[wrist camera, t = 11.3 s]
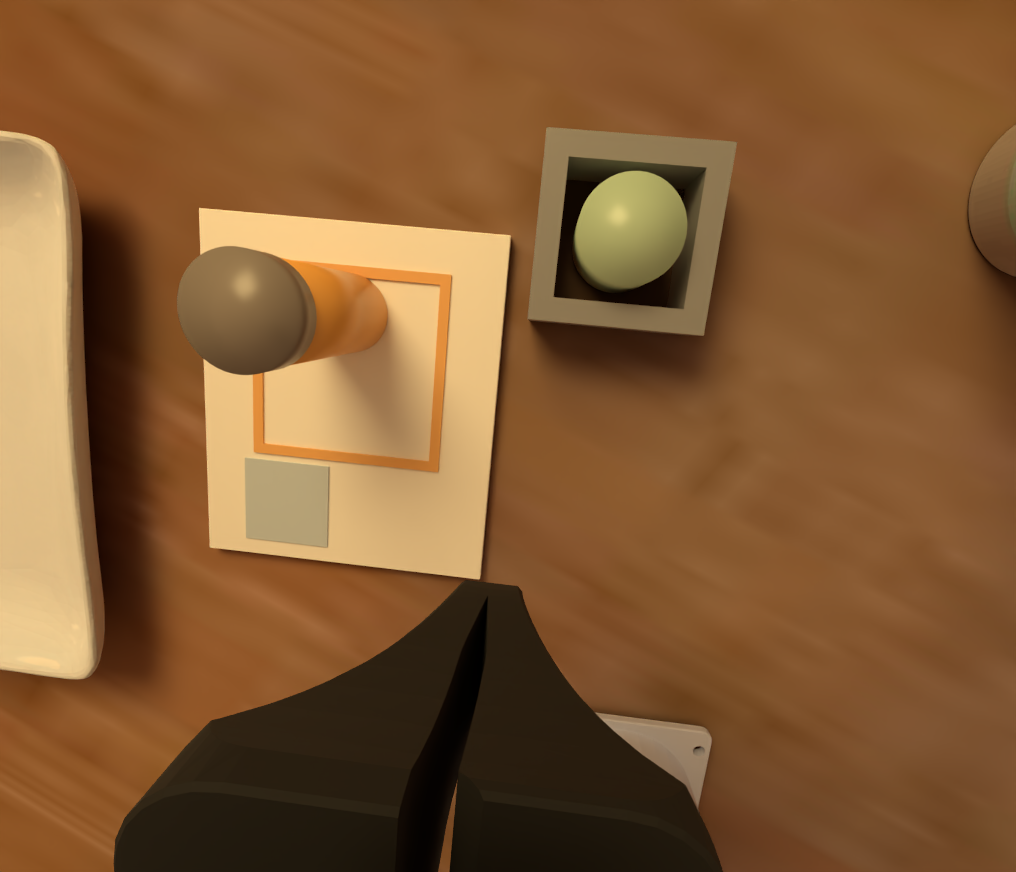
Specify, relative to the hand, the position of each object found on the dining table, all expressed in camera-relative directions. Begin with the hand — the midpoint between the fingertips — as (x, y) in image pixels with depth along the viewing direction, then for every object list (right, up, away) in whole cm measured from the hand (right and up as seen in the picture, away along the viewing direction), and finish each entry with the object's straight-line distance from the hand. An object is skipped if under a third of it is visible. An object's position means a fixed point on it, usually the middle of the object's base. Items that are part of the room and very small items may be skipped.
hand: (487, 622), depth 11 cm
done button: (+5, +12, +8) cm, 15 cm away
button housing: (+5, +11, +7) cm, 14 cm away
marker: (-6, +9, +8) cm, 13 cm away
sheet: (-6, +6, +9) cm, 12 cm away
